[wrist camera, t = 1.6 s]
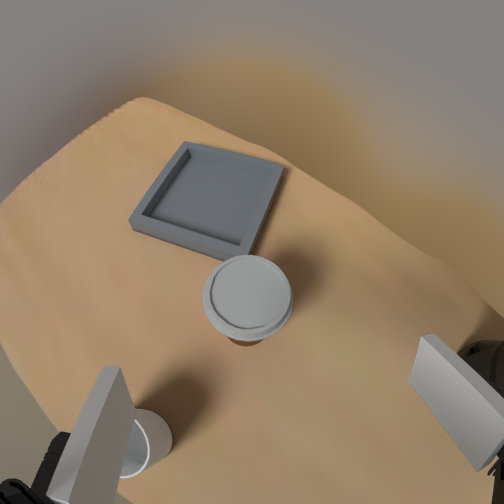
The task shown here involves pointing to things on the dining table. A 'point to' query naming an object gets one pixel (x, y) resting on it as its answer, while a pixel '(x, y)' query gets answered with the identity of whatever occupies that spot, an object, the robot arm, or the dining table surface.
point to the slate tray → (209, 201)
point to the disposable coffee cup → (247, 299)
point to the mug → (146, 443)
